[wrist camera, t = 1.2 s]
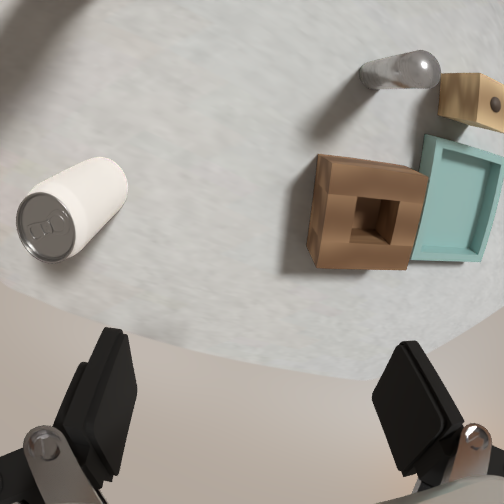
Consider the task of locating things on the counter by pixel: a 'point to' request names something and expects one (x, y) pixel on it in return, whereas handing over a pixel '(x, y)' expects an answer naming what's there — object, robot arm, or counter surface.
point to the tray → (457, 201)
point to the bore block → (364, 214)
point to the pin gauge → (402, 71)
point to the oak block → (472, 100)
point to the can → (70, 209)
